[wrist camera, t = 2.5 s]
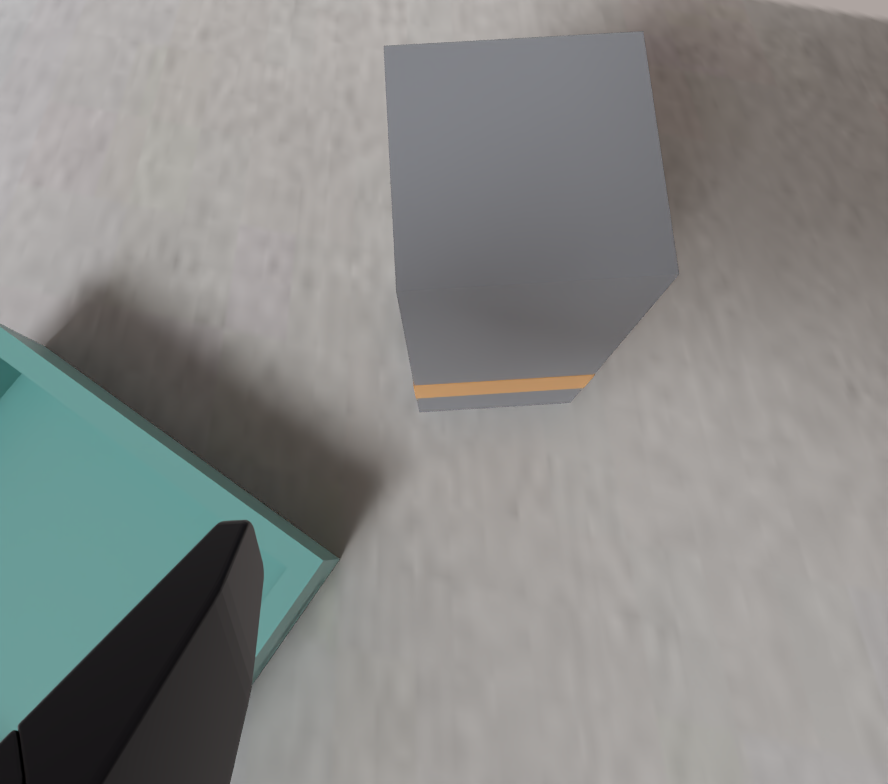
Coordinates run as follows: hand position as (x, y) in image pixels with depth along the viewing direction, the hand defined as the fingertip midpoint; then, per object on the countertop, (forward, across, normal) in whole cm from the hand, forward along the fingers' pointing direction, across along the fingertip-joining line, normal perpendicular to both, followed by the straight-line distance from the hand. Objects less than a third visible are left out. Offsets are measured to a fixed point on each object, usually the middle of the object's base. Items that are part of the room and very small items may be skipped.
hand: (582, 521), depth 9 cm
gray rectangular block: (+14, 0, +4) cm, 14 cm away
